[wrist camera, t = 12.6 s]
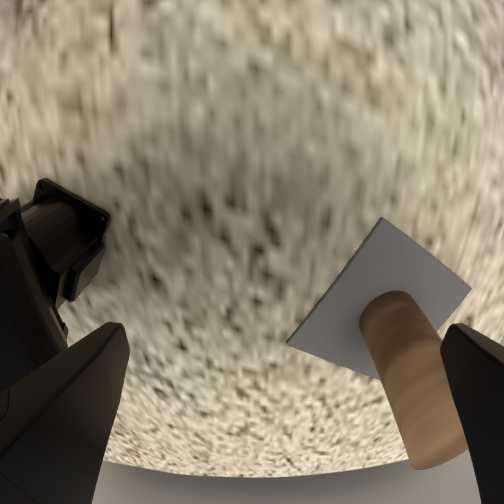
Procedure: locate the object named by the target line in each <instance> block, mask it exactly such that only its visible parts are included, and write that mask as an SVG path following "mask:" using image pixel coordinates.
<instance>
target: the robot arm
mask: <svg viewBox="0 0 504 504" xmlns="http://www.w3.org/2000/svg"><path fill="white" fill-rule="evenodd" d="M42 183H43V184H44V188H43V187H42ZM101 216H102V217H104V219H105V221H102V220H101ZM109 222H110V216H109V214H108V213H107V212H106V211H104V210H102V209H100V208H98V207H96V206H95V205H93V204H91V203H89V202H87V201H85V200H84V199H82V198H80V197H78V196H76V195H75V194H73V193H71V192H69V191H67V190H66V189H64V188H62V187H60V186H58V185H57V184H55V183H53V182H51V181H49V180H48V179H45V178H43V179H40V180H39V181H38V182H37V185H36V189H35V193H34V198H33V200H32V201H30V202H29V203H27V204H25V205H23V206H20V202H19V198H16V199H13V200H10V201H9V198H8V199H5V200H4V199H1V198H0V504H92V500H93V496H94V491H95V487H96V483H97V480H98V475H99V472H100V468H101V464H102V461H103V457H104V454H105V450H106V447H107V443H108V440H109V436H110V433H111V430H112V426H113V423H114V420H115V416H116V413H117V410H118V406H119V403H120V398H121V393H122V388H123V383H124V378H125V374H126V369H127V364H128V360H129V354H130V348H129V344H128V340H127V336H126V332H125V328H124V326H123V325H122V324H121V323H115V322H107V323H105V324H104V325H102V326H101V327H99V328H98V329H96V330H94V331H93V332H91V333H90V334H88V335H87V336H85V337H84V338H82V339H81V340H79V341H78V342H76V343H75V344H73V345H72V346H70V347H69V348H68V345H67V340H66V339H67V335H68V328H67V326H66V324H65V323H64V322H62V319H61V317H60V315H59V313H58V311H57V310H58V309H59V307H60V306H61V305H62V304H63V302H64V301H65V300H67V301H69V302H73V301H75V299H76V298H77V297H78V296H79V294H80V293H81V292H82V291H83V289H84V288H85V287H86V286H87V285H88V284H89V283H90V281H91V279H92V278H93V277H94V276H95V275H96V273H97V271H98V268H99V265H100V261H101V258H102V255H103V252H104V249H105V244H104V242H103V239H104V236H105V233H106V230H107V228H108V225H109ZM440 355H441V358H442V361H443V365H444V369H445V372H446V376H447V380H448V384H449V388H450V391H451V395H452V398H453V401H454V404H455V407H456V410H457V413H458V416H459V419H460V422H461V425H462V428H463V432H464V435H465V438H466V442H467V445H468V449H469V452H470V456H471V460H472V463H473V467H474V472H475V476H476V480H477V484H478V488H479V493H480V498H481V504H504V346H502V345H500V344H499V343H497V342H495V341H493V340H492V339H490V338H488V337H486V336H485V335H483V334H481V333H479V332H478V331H476V330H474V329H472V328H471V327H469V326H467V325H465V324H463V323H456V324H452V325H450V326H449V328H448V330H447V332H446V335H445V337H444V339H443V341H442V343H441V346H440Z"/></svg>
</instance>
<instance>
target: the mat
mask: <svg viewBox="0 0 504 504" xmlns="http://www.w3.org/2000/svg"><path fill="white" fill-rule="evenodd" d="M471 289H472V288H471V287H470V286H469V285H467V284H466V283H465V282H464V281H463V280H462V279H460V278H459V277H458V276H457V275H456V274H455V273H453V272H452V271H451V270H450V269H449V268H447V267H446V266H445V265H444V264H442V263H441V262H440V261H439V260H438V259H436V258H435V257H434V256H433V255H431V254H430V253H429V252H428V251H426V250H425V249H424V248H422V247H421V246H420V245H419V244H417V243H416V242H415V241H413V240H412V239H411V238H409V237H408V236H407V235H405V234H404V233H403V232H401V231H400V230H399V229H397V228H396V227H395V226H393V225H392V224H391V223H389V222H388V221H386V220H385V219H384V218H382V217H381V218H380V220H379V221H378V223H377V224H376V226H375V227H374V228H373V230H372V231H371V233H370V234H369V236H368V237H367V238H366V240H365V241H364V243H363V244H362V245H361V247H360V248H359V249H358V251H357V252H356V254H355V255H354V256H353V258H352V259H351V260H350V262H349V263H348V264H347V266H346V267H345V269H344V270H343V271H342V273H341V274H340V275H339V276H338V278H337V279H336V280H335V282H334V283H333V284H332V286H331V287H330V288H329V290H328V291H327V292H326V293H325V295H324V296H323V297H322V299H321V300H320V301H319V302H318V304H317V305H316V306H315V307H314V309H313V310H312V311H311V312H310V314H309V315H308V316H307V317H306V319H305V320H304V321H303V322H302V323H301V325H300V326H299V327H298V328H297V330H296V331H295V332H294V333H293V334H292V336H291V337H290V338H289V339H288V340H287V342H286V344H287V345H289V346H292V347H294V348H297V349H299V350H302V351H304V352H307V353H309V354H312V355H314V356H317V357H319V358H322V359H325V360H327V361H330V362H332V363H335V364H338V365H340V366H343V367H346V368H348V369H351V370H354V371H356V372H359V373H362V374H365V375H368V376H370V377H373V378H376V379H379V380H380V377H379V375H378V372H377V369H376V367H375V364H374V362H373V360H372V357H371V355H370V352H369V350H368V347H367V345H366V342H365V340H364V338H363V335H362V333H361V330H360V326H359V322H360V317H361V314H362V312H363V311H364V309H365V308H366V306H367V305H368V304H369V303H370V302H371V301H372V300H373V299H375V298H376V297H378V296H379V295H381V294H384V293H386V292H390V291H403V292H406V293H408V294H409V295H411V297H412V298H413V299H414V300H415V302H416V303H417V305H418V306H419V307H420V309H421V310H422V312H423V313H424V315H425V316H426V317H427V319H428V320H429V322H430V323H431V325H432V326H433V328H434V329H435V331H436V332H437V331H438V330H439V329H440V327H441V326H442V325H443V324H444V323H445V322H446V320H447V319H448V318H449V317H450V316H451V314H452V313H453V312H454V311H455V310H456V308H457V307H458V306H459V305H460V303H461V302H462V301H463V300H464V298H465V297H466V296H467V294H468V293H469V292H470V291H471Z"/></svg>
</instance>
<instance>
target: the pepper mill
mask: <svg viewBox="0 0 504 504" xmlns="http://www.w3.org/2000/svg"><path fill="white" fill-rule="evenodd" d="M359 326H360V330H361V333H362V335H363V338H364V340H365V342H366V345H367V347H368V350H369V352H370V355H371V357H372V360H373V362H374V364H375V367H376V369H377V372H378V375H379V377H380V380H381V382H382V385H383V387H384V390H385V393H386V395H387V398H388V401H389V403H390V406H391V409H392V411H393V414H394V417H395V420H396V422H397V425H398V428H399V431H400V434H401V437H402V440H403V443H404V445H405V448H406V451H407V454H408V457H409V461H410V464H411V467H412V468H413V469H416V470H423V469H428V468H432V467H435V466H438V465H441V464H443V463H445V462H447V461H449V460H451V459H453V458H455V457H456V456H458V455H460V454H462V453H463V452H465V451H466V450H467V449H468V445H467V442H466V438H465V435H464V432H463V428H462V425H461V422H460V419H459V416H458V413H457V410H456V407H455V404H454V401H453V398H452V395H451V391H450V388H449V384H448V380H447V376H446V372H445V369H444V365H443V361H442V358H441V355H440V346H441V343H442V340H441V338H440V337H439V335H438V334H437V332H436V331H435V329H434V328H433V326H432V325H431V323H430V322H429V320H428V319H427V317H426V316H425V315H424V313H423V312H422V310H421V309H420V307H419V306H418V305H417V303H416V302H415V300H414V299H413V298H412V297H411V295H409V294H408V293H406V292H403V291H390V292H386V293H384V294H381V295H379V296H378V297H376V298H375V299H373V300H372V301H371V302H370V303H369V304H368V305H367V306H366V308H365V309H364V311H363V312H362V314H361V317H360V322H359Z"/></svg>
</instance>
